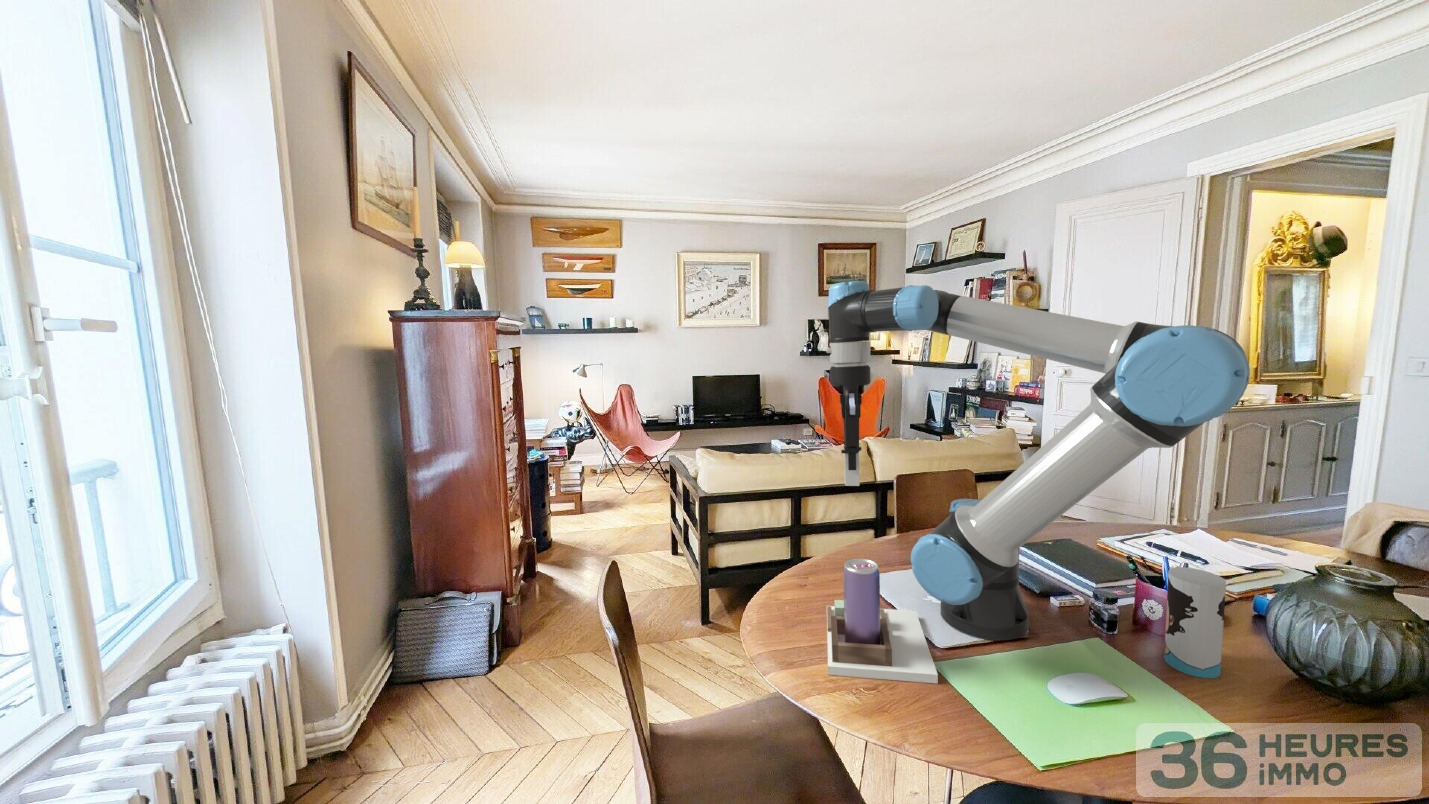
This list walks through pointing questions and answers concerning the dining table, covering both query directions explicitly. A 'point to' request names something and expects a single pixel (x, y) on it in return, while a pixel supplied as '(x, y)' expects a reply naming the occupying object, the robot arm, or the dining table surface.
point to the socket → (860, 647)
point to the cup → (1194, 621)
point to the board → (906, 651)
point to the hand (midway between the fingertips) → (852, 484)
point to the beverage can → (862, 602)
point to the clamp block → (839, 607)
